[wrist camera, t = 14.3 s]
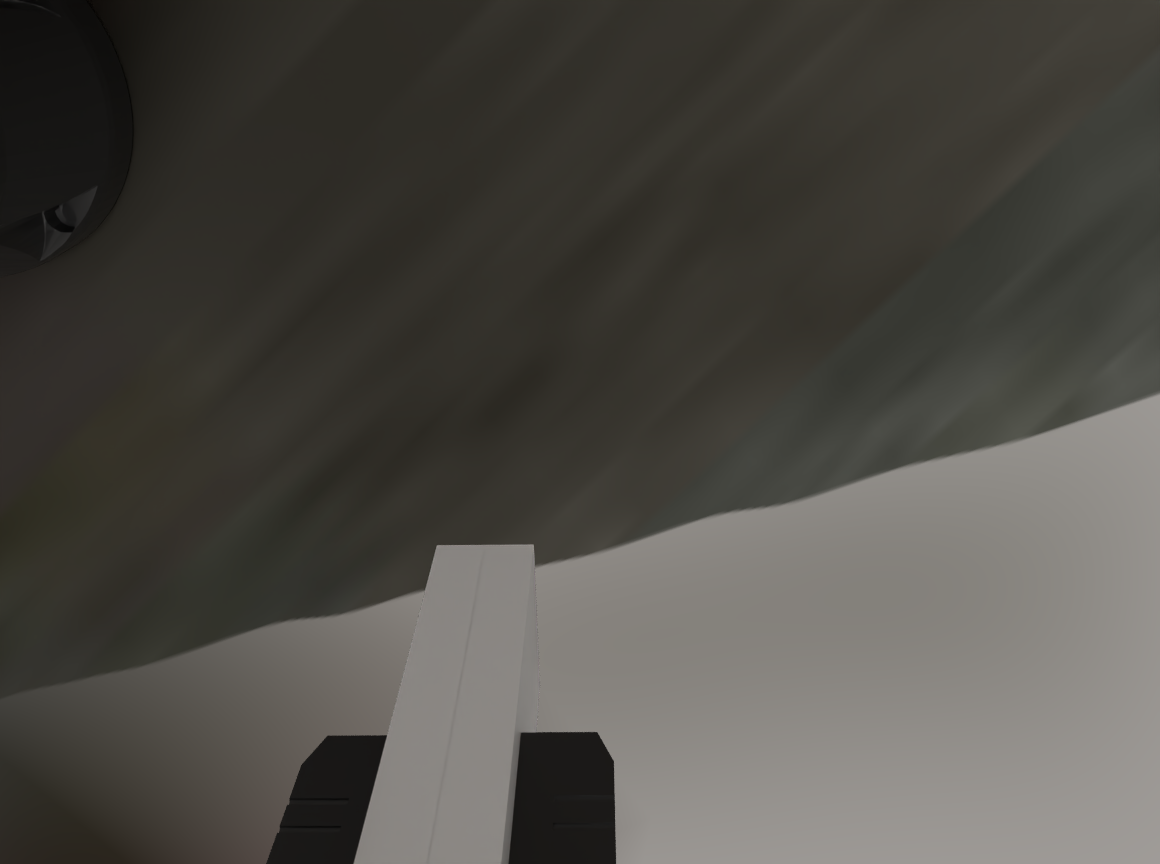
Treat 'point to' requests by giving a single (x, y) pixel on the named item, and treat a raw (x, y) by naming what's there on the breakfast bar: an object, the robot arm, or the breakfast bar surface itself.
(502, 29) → the breakfast bar surface
